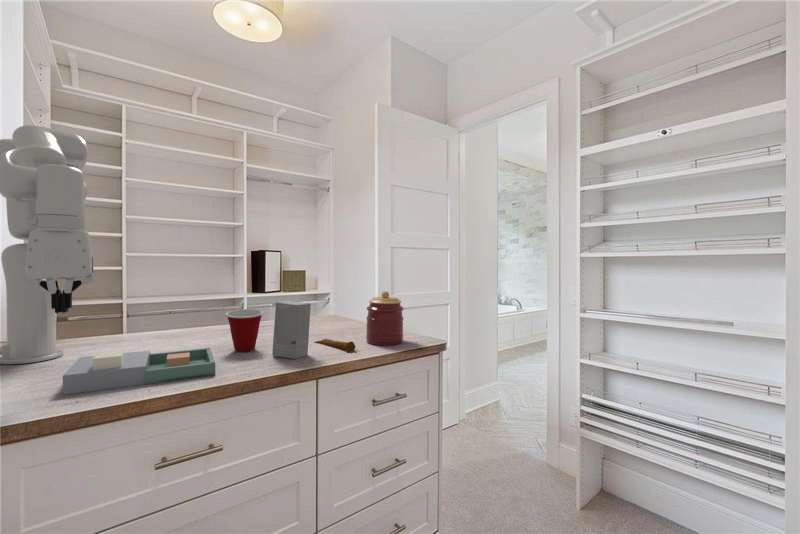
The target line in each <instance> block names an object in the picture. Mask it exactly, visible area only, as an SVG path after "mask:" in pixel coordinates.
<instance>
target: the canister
mask: <svg viewBox="0 0 800 534" xmlns="http://www.w3.org/2000/svg"><path fill="white" fill-rule="evenodd" d="M389 293H390V292H388V291H382V293H381V296H375V297H372V299H369V301H368V303H369V305H368V306H367V307H366V310H367V316H366V317H365V318H366V334H365V339H366V342H367V343H368V344H370V345H375V346H395V345H399V344H402V343H403V339H404V319H405V318H404V317H403V311H404V309H405V308H404V307H403V306H402V305H401V303H402V301H401V299H399V298H398V297H395V296H394V297H393V296H390V294H389Z"/></svg>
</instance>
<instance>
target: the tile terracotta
mask: <svg viewBox="0 0 800 534" xmlns="http://www.w3.org/2000/svg"><path fill="white" fill-rule="evenodd" d="M183 365H190V352H188V353H178V354H168V355H167V359H166V367H175V366H183Z"/></svg>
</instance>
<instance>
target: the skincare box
mask: <svg viewBox="0 0 800 534" xmlns="http://www.w3.org/2000/svg"><path fill="white" fill-rule="evenodd" d="M311 305H312V304H311V303H308V302H302V301H294V300H293V301H292V300H287V301H286V300H285V301H284V300H283V301H276V302H275V313H274V326H273V339H272V342H273V343H272V357H277V358H283V359H291V360H292V359H293V360H296V359H300V358H302V357H305V356H308V352H309V337H310V322H311V320H310V318H311Z"/></svg>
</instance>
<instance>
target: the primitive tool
mask: <svg viewBox="0 0 800 534" xmlns="http://www.w3.org/2000/svg"><path fill="white" fill-rule="evenodd" d="M313 343H315V344H319V345H322V346H323V345H324V346H328V347H330V348H331V347H332V348H335V349H339V350H343V351H346V353H351V352H354V351H355V350H356V344H355V342H353V341H348V342H345V341H340V340H339V341H337V340H332V339H327V338H325V339H321V340H316V341H313Z"/></svg>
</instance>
